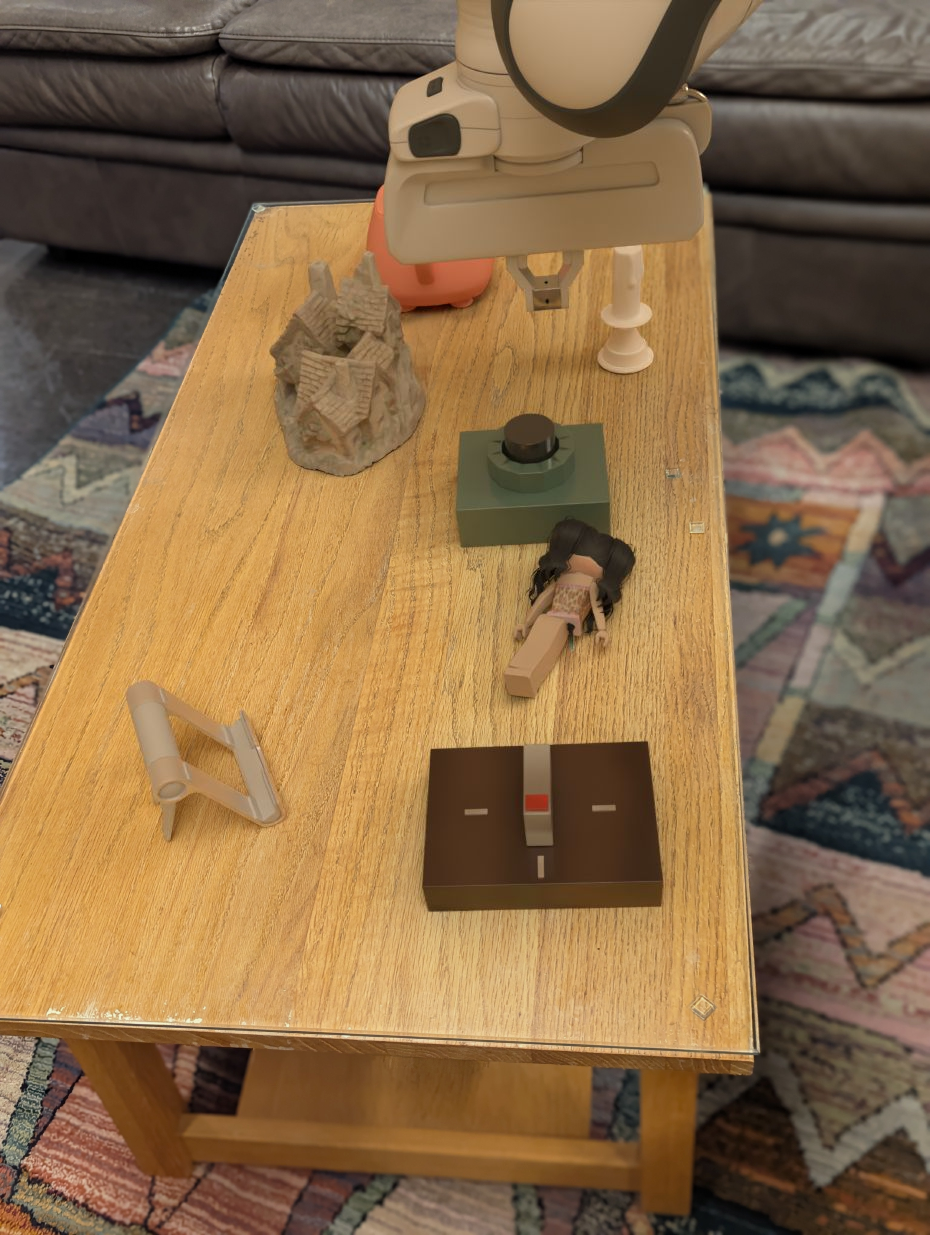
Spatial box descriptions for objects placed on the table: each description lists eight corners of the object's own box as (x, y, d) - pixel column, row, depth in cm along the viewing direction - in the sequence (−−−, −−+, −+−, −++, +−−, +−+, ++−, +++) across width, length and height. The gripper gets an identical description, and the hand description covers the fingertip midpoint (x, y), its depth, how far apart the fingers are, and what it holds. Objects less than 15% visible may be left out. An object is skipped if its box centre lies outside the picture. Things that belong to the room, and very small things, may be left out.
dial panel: (646, 767, 71) (648, 739, 69) (661, 906, 64) (663, 880, 62) (435, 774, 72) (430, 746, 70) (428, 912, 65) (421, 886, 63)
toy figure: (595, 715, 75) (644, 561, 83) (581, 658, 70) (635, 501, 79) (498, 702, 77) (556, 553, 86) (479, 646, 73) (542, 495, 82)
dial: (526, 776, 68) (523, 741, 65) (552, 776, 68) (549, 740, 65) (526, 846, 64) (522, 812, 62) (553, 846, 64) (550, 811, 61)
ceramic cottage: (325, 347, 109) (291, 211, 97) (458, 396, 102) (439, 256, 90) (222, 440, 101) (172, 306, 90) (358, 501, 94) (323, 363, 83)
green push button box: (602, 460, 93) (602, 402, 88) (610, 539, 86) (610, 481, 82) (464, 468, 94) (457, 411, 89) (460, 547, 87) (452, 490, 83)
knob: (554, 432, 87) (554, 411, 85) (556, 463, 84) (555, 442, 83) (505, 435, 87) (503, 414, 86) (505, 466, 85) (503, 446, 83)
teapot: (498, 234, 121) (489, 124, 113) (496, 332, 108) (486, 216, 99) (381, 243, 123) (363, 136, 114) (365, 341, 109) (343, 228, 100)
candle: (653, 341, 104) (657, 224, 95) (654, 373, 100) (658, 254, 92) (597, 343, 105) (596, 226, 96) (596, 375, 101) (595, 257, 92)
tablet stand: (288, 819, 71) (258, 744, 65) (173, 868, 69) (130, 796, 63) (252, 726, 76) (221, 649, 70) (145, 770, 75) (103, 694, 69)
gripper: (707, 58, 65) (696, 269, 75) (372, 92, 67) (405, 293, 77) (721, 101, 60) (708, 318, 70) (362, 136, 62) (398, 342, 72)
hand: (547, 305), depth 74 cm, fingers closed
